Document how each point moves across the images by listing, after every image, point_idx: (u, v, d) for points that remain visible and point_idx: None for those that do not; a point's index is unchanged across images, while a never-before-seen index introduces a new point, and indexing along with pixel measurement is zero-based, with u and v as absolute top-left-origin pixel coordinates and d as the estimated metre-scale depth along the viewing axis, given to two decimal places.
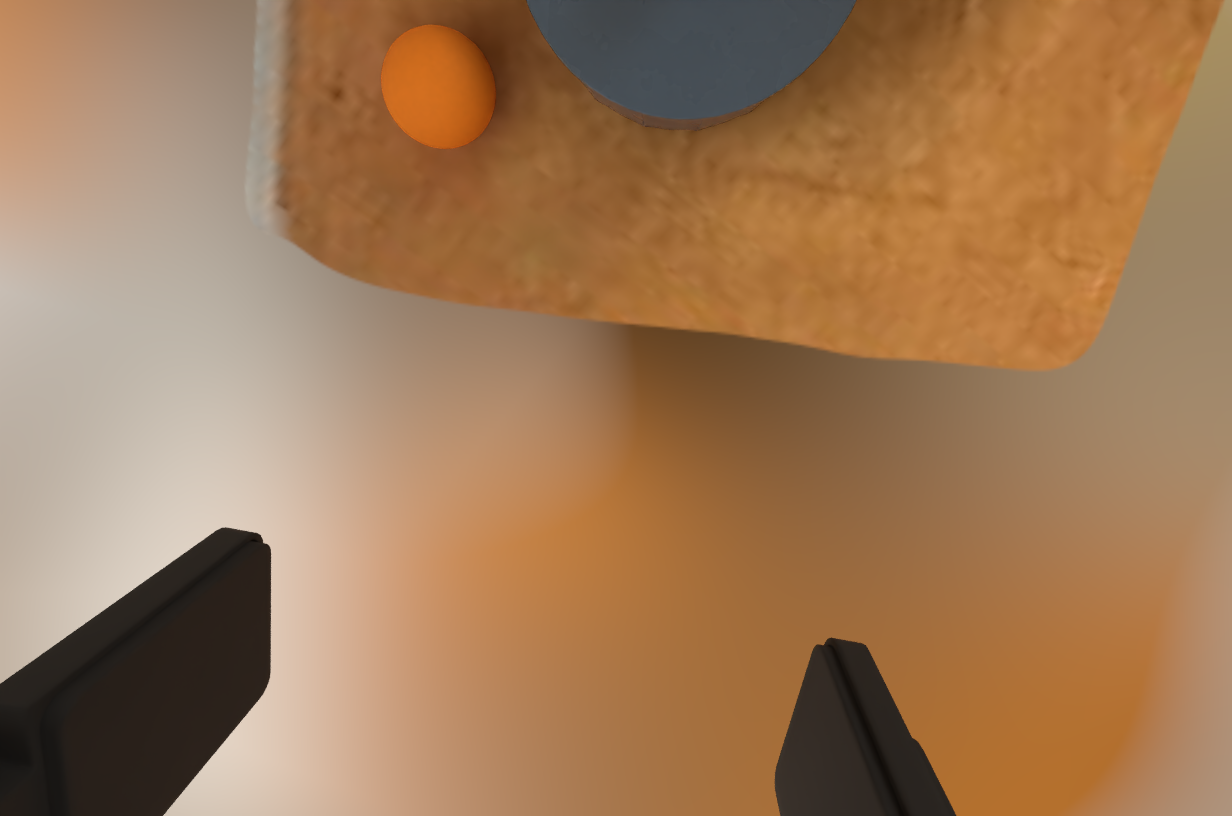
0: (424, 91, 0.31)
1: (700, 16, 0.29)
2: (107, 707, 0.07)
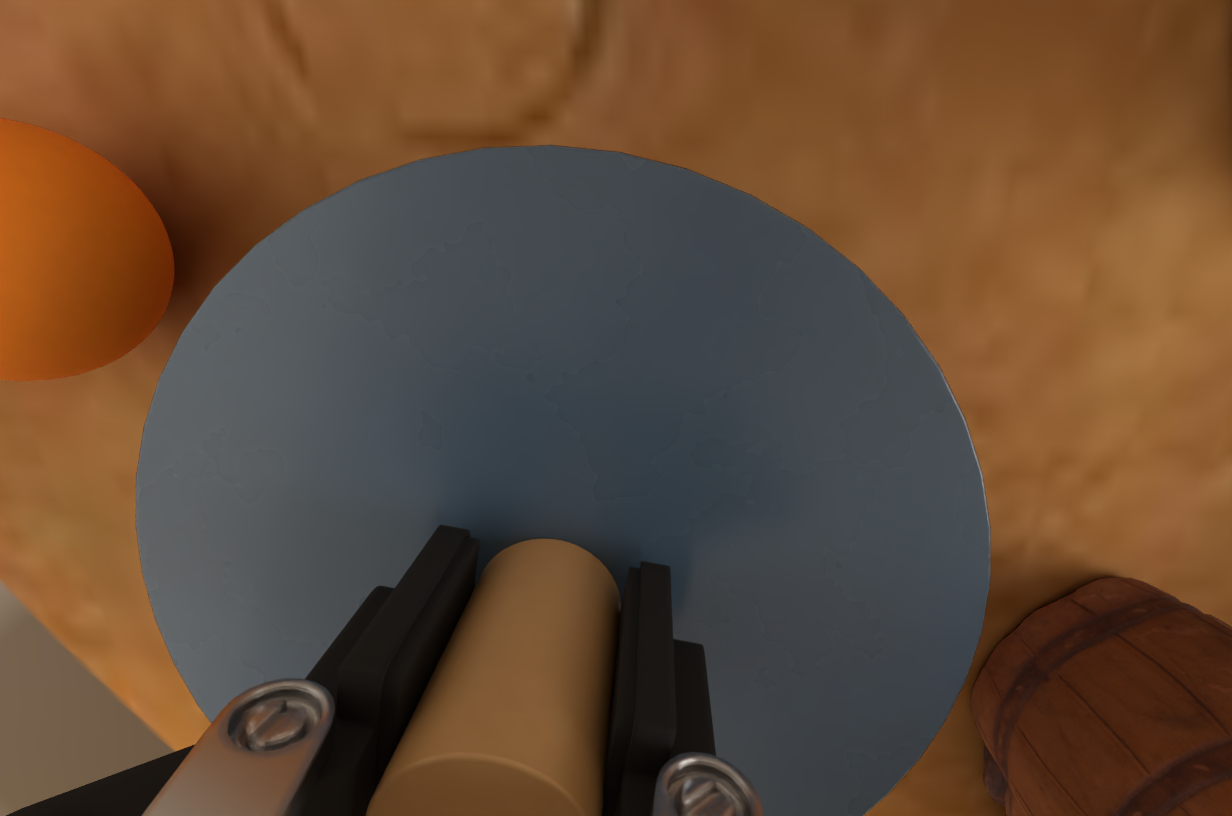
0: None
1: None
2: (413, 677, 0.08)
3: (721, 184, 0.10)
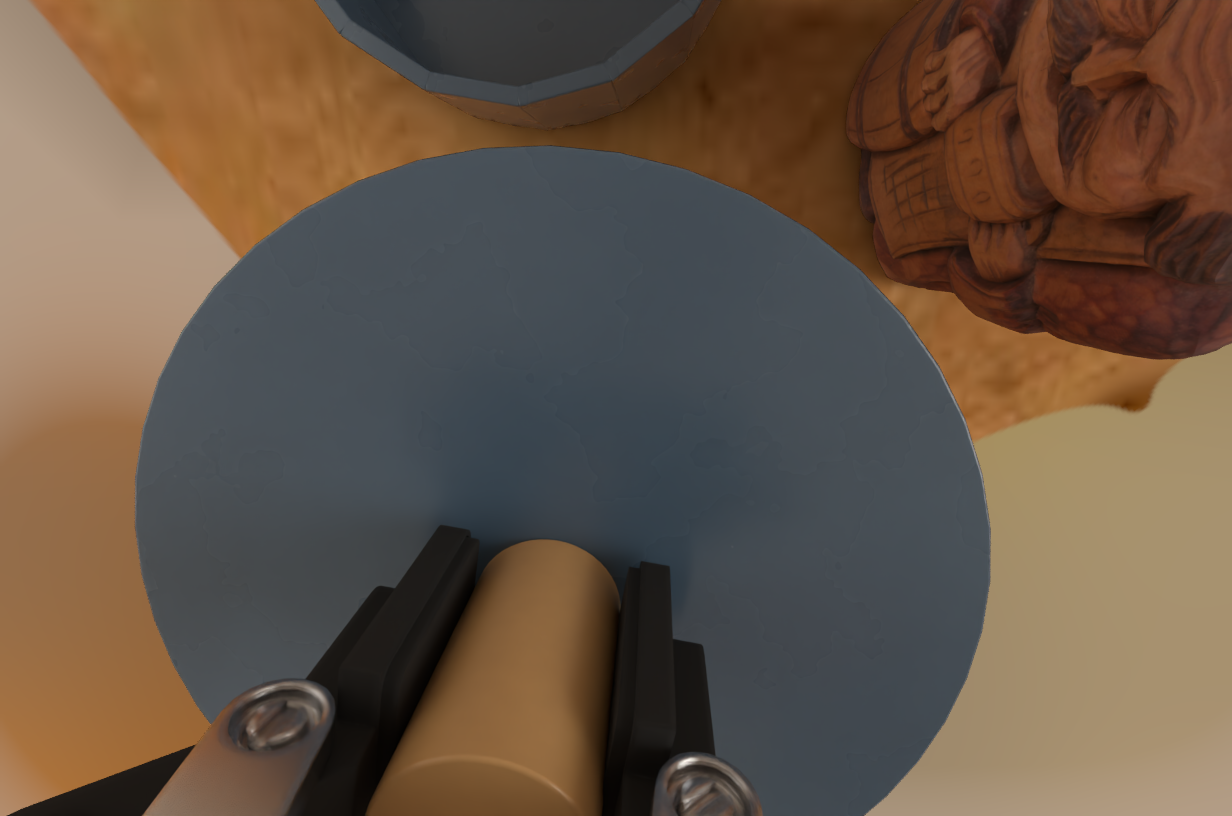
0: None
1: None
2: (413, 677, 0.08)
3: (721, 185, 0.10)
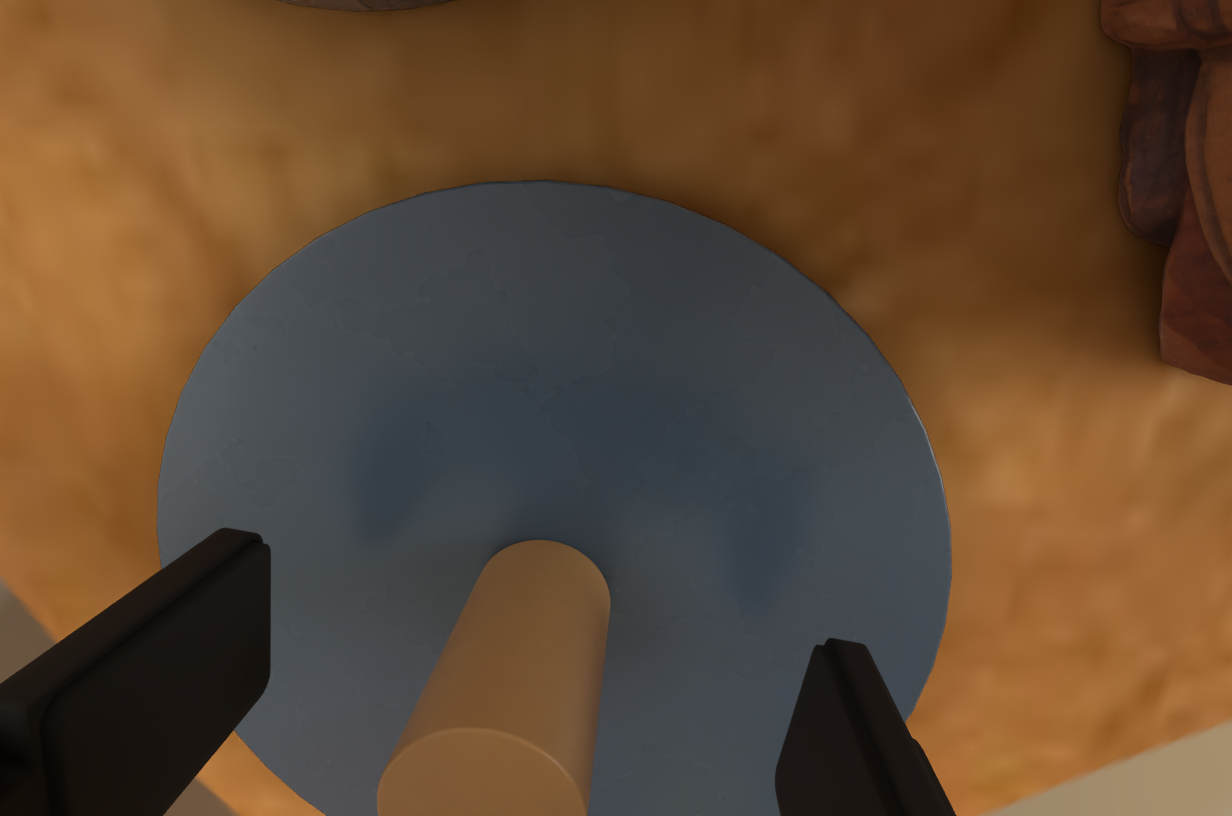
0: None
1: None
2: (107, 707, 0.07)
3: (700, 215, 0.11)
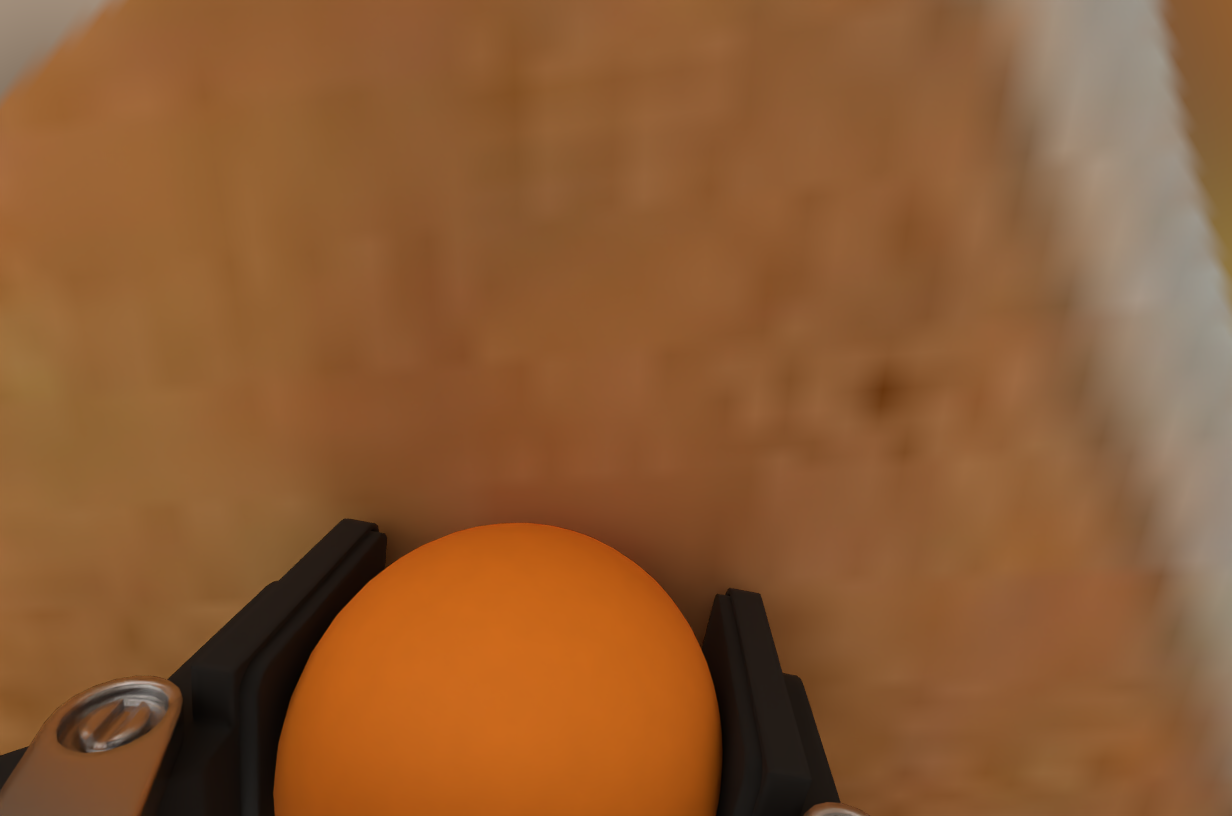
0: None
1: None
2: (284, 676, 0.08)
3: None
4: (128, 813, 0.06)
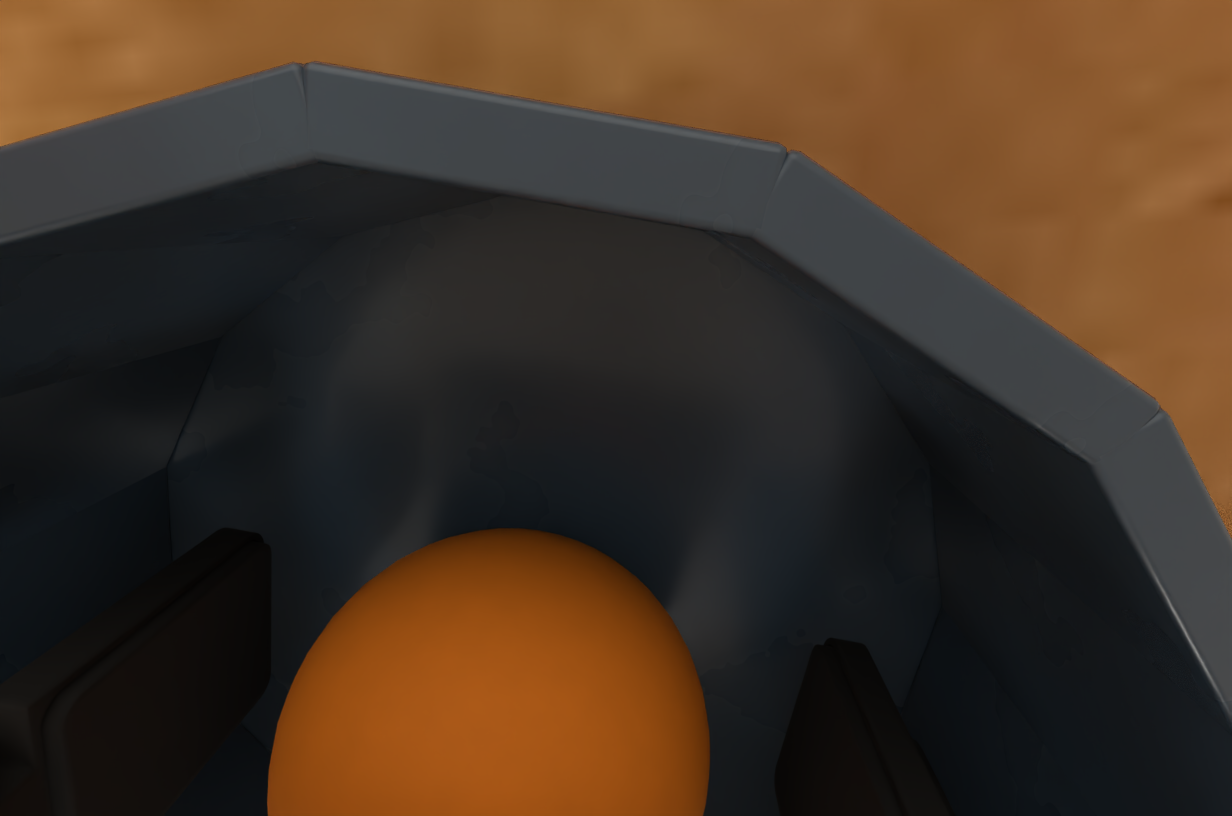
0: None
1: None
2: (108, 707, 0.07)
3: None
4: None
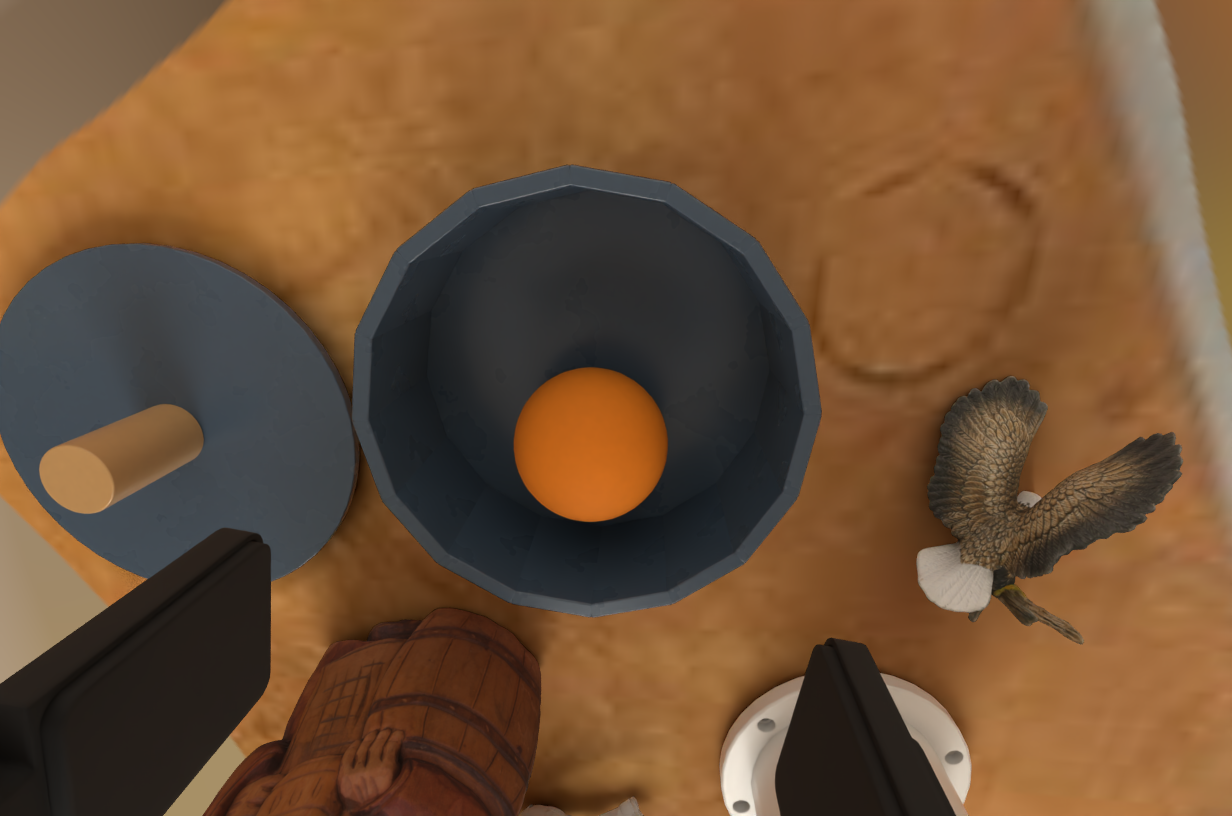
0: (576, 513, 0.23)
1: (96, 375, 0.27)
2: (107, 707, 0.07)
3: (349, 496, 0.28)
4: None
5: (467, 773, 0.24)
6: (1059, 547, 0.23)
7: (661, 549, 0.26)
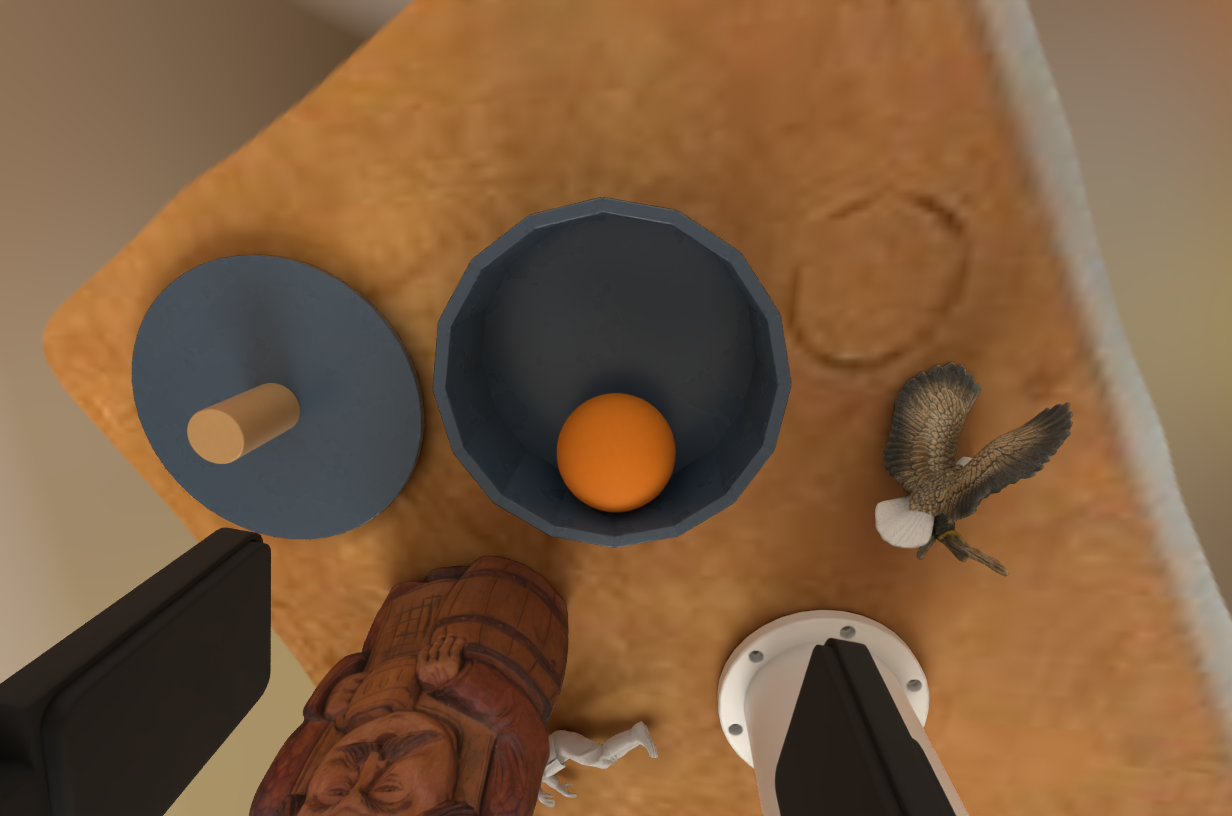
0: None
1: (217, 359, 0.34)
2: (107, 707, 0.07)
3: (415, 459, 0.35)
4: None
5: (515, 672, 0.30)
6: (981, 492, 0.29)
7: (668, 499, 0.32)
